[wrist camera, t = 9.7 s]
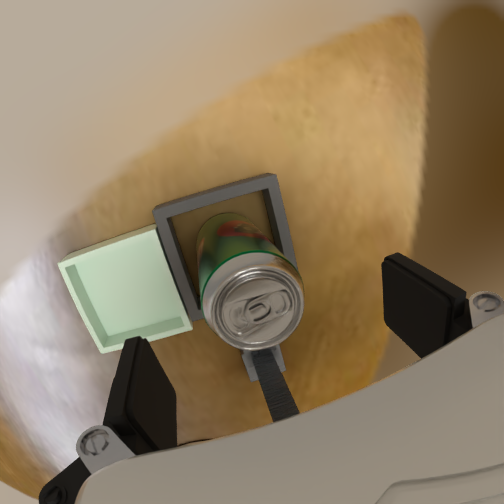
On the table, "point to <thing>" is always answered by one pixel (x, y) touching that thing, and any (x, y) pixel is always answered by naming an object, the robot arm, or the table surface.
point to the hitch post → (271, 380)
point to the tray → (126, 289)
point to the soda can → (246, 284)
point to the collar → (211, 196)
